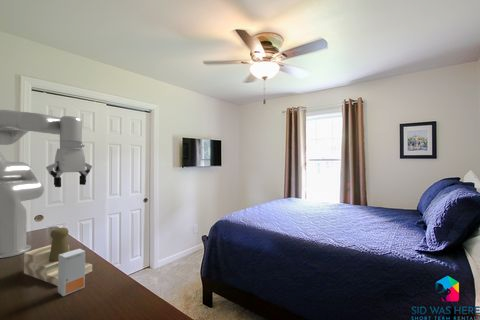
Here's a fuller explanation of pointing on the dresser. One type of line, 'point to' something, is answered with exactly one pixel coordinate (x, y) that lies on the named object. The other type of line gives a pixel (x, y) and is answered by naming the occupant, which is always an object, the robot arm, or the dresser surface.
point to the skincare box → (71, 271)
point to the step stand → (44, 265)
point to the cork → (58, 243)
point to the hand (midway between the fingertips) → (70, 185)
